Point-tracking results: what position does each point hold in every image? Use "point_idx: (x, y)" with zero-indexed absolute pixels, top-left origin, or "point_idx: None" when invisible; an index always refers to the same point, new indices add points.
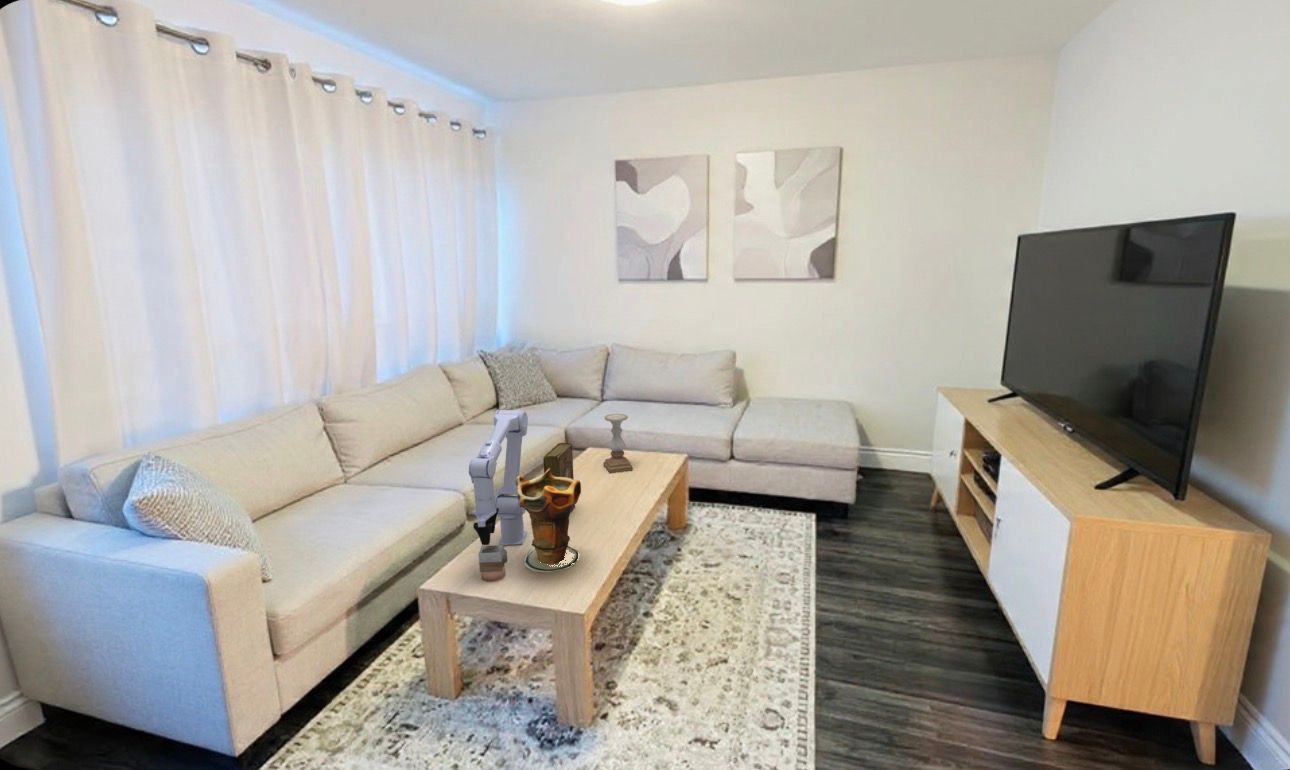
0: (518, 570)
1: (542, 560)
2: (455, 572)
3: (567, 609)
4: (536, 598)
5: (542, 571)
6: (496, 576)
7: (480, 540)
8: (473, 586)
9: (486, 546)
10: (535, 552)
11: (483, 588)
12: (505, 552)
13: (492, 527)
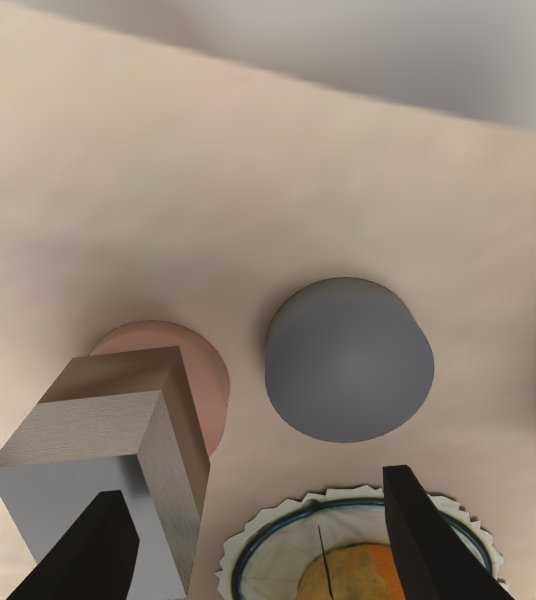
0: (229, 483)
1: (306, 577)
2: (160, 114)
3: None
4: (4, 588)
5: (224, 574)
6: None
7: (61, 537)
8: (14, 312)
9: (136, 495)
10: None
11: (11, 372)
12: (359, 434)
13: (407, 582)
